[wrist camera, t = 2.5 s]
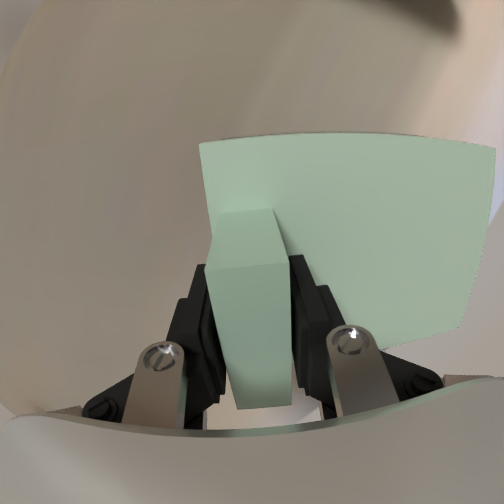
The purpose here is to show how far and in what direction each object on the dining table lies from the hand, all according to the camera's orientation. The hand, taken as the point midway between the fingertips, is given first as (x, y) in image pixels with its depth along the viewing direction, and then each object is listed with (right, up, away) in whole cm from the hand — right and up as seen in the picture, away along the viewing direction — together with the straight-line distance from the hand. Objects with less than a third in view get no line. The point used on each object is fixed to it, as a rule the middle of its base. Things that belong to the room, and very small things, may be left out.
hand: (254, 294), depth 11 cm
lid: (+6, +2, +3) cm, 7 cm away
